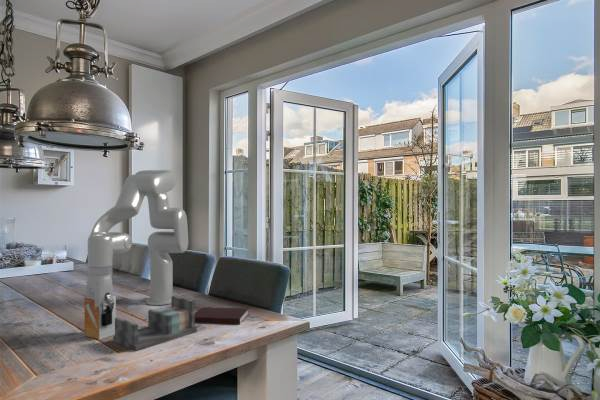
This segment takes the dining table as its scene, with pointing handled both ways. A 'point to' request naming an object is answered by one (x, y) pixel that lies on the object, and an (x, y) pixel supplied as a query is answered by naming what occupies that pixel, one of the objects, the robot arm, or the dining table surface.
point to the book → (221, 315)
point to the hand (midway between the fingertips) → (100, 322)
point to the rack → (158, 325)
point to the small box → (97, 320)
